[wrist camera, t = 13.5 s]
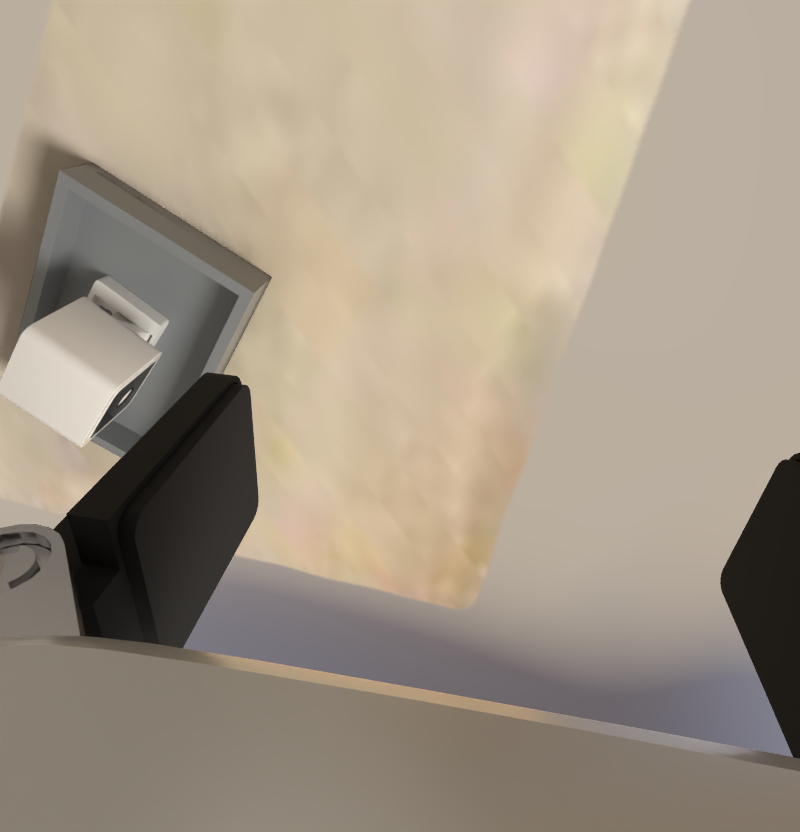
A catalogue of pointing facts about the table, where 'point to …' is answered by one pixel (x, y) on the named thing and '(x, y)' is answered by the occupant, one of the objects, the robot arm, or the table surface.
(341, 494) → the table surface
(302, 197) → the table surface
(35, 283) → the parts tray
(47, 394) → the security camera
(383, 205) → the table surface
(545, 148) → the table surface
